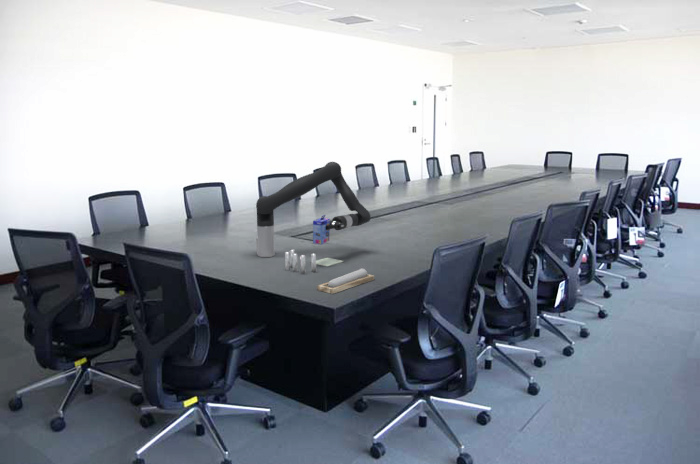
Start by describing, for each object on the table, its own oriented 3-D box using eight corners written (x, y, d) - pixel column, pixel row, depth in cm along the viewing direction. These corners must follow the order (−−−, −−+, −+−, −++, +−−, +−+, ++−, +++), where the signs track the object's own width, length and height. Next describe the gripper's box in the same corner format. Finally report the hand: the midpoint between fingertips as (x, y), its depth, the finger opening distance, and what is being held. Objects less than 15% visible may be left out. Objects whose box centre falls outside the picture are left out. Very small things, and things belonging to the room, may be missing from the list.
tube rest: (317, 289, 243) (317, 285, 243) (358, 276, 265) (358, 272, 265) (332, 293, 238) (332, 289, 237) (374, 279, 260) (374, 275, 259)
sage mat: (310, 263, 291) (310, 262, 291) (327, 258, 301) (327, 257, 301) (327, 266, 284) (327, 265, 284) (343, 261, 294) (343, 260, 293)
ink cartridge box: (322, 244, 281) (321, 217, 278) (312, 244, 283) (311, 216, 280) (330, 240, 290) (329, 213, 287) (320, 240, 292) (320, 213, 289)
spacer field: (281, 268, 279) (281, 251, 278) (292, 265, 285) (292, 249, 284) (306, 274, 268) (305, 256, 267) (317, 271, 274) (316, 253, 273)
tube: (336, 284, 239) (369, 271, 259) (327, 278, 242) (360, 266, 261) (333, 294, 241) (366, 281, 261) (324, 288, 244) (357, 276, 263)
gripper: (332, 214, 301) (311, 218, 289) (352, 216, 292) (331, 221, 280) (332, 227, 303) (311, 232, 291) (352, 230, 294) (331, 235, 281)
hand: (321, 227), depth 285 cm, fingers closed on ink cartridge box, 6 cm apart
